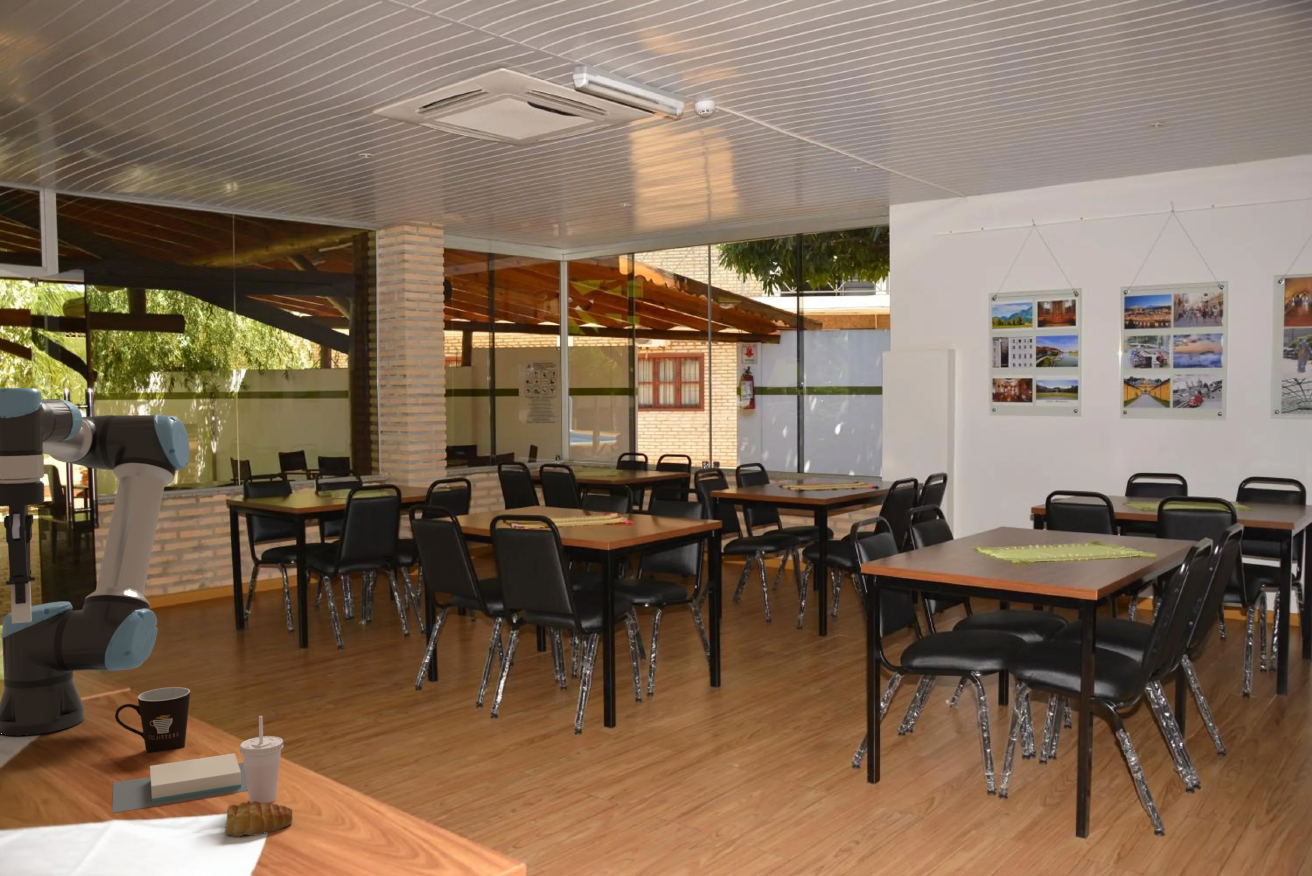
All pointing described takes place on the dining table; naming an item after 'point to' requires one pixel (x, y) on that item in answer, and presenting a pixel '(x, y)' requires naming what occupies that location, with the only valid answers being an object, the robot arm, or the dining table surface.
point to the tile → (194, 777)
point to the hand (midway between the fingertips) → (21, 621)
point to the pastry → (256, 818)
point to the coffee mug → (161, 718)
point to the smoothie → (262, 765)
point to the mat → (139, 797)
